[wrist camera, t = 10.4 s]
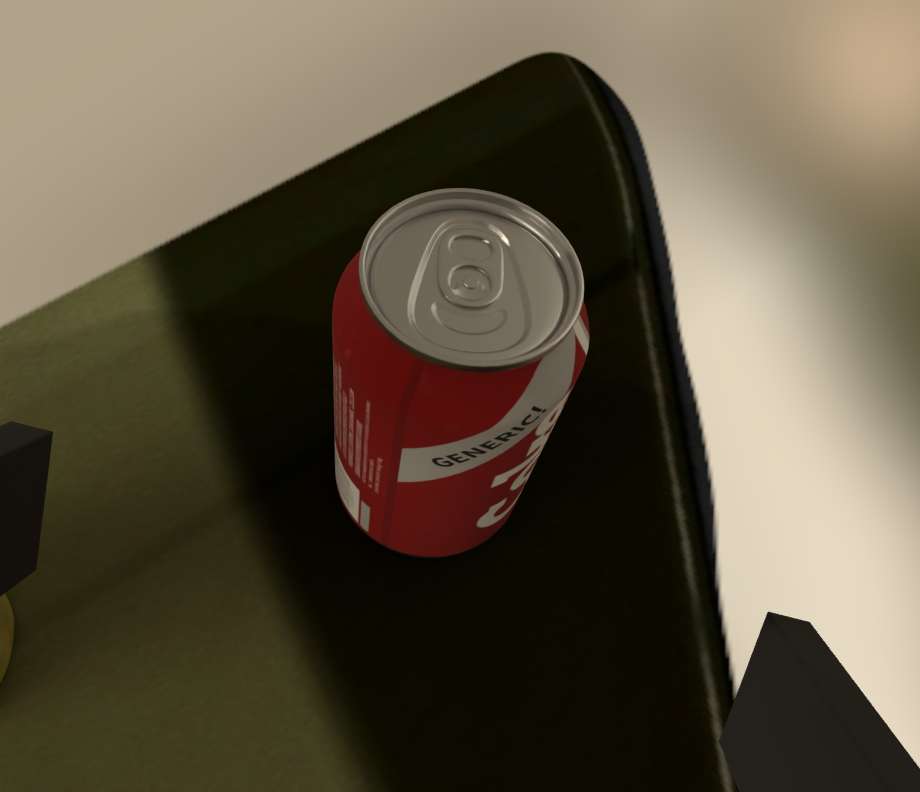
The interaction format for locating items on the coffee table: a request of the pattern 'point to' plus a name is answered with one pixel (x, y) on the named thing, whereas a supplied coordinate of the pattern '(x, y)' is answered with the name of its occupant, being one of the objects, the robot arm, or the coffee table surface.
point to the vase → (5, 634)
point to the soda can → (451, 366)
